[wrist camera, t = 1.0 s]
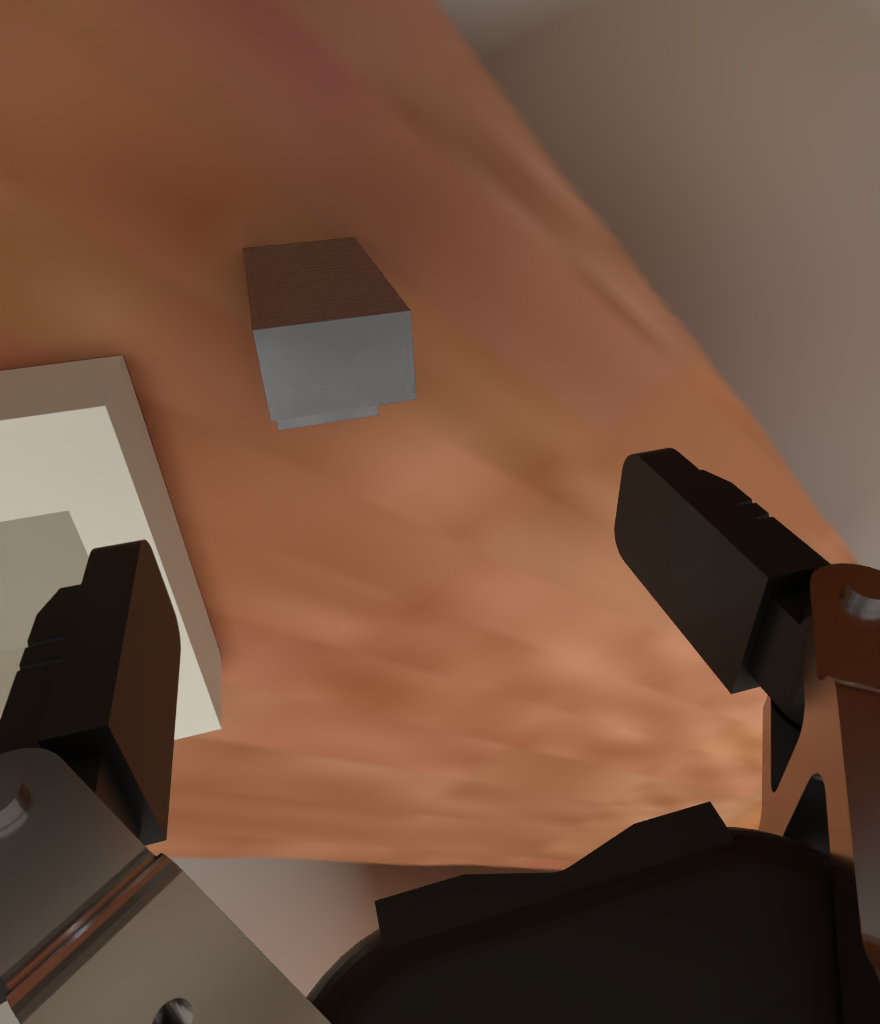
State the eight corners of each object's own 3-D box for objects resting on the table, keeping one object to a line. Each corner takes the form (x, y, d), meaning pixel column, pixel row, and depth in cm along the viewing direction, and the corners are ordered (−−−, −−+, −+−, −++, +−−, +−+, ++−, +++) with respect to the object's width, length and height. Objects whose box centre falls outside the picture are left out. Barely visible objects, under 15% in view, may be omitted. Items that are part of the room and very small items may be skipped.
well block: (-260, 403, 22) (-354, 470, 18) (122, 355, 24) (105, 405, 21) (-41, 714, 31) (-76, 799, 27) (221, 657, 33) (221, 728, 30)
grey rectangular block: (243, 248, 23) (252, 330, 16) (354, 237, 24) (410, 310, 17) (276, 414, 27) (295, 540, 20) (371, 399, 28) (423, 516, 21)
